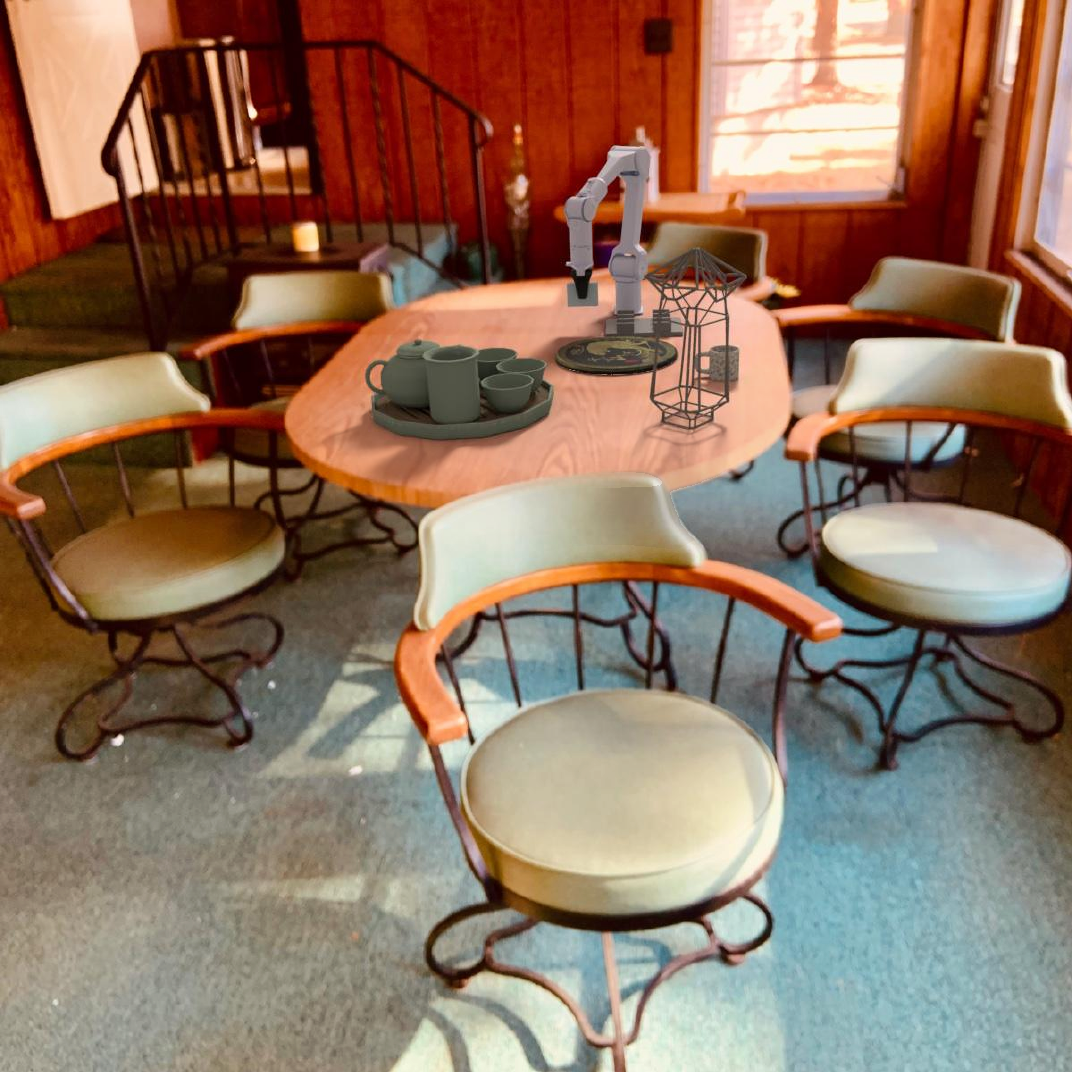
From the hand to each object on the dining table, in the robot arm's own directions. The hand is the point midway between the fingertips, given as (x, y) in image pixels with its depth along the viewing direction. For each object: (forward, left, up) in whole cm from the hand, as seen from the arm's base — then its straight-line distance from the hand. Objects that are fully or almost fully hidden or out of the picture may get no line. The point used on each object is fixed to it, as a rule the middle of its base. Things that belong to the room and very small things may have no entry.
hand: (582, 297), depth 283 cm
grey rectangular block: (0, 0, -2) cm, 2 cm away
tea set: (+61, -24, -9) cm, 66 cm away
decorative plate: (+25, +9, -10) cm, 28 cm away
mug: (+43, +32, -9) cm, 54 cm away
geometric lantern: (+72, +25, -9) cm, 77 cm away
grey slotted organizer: (0, +16, -9) cm, 18 cm away
